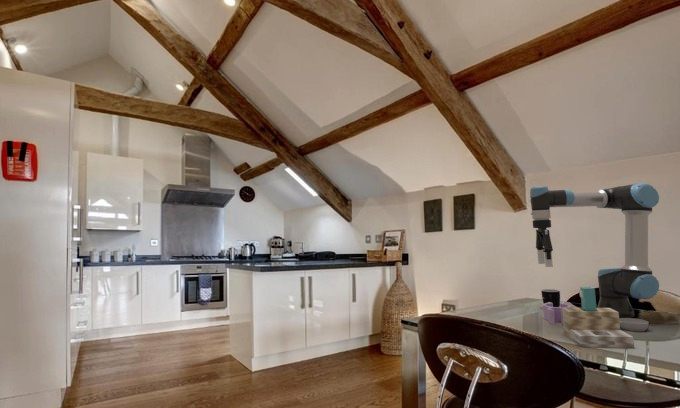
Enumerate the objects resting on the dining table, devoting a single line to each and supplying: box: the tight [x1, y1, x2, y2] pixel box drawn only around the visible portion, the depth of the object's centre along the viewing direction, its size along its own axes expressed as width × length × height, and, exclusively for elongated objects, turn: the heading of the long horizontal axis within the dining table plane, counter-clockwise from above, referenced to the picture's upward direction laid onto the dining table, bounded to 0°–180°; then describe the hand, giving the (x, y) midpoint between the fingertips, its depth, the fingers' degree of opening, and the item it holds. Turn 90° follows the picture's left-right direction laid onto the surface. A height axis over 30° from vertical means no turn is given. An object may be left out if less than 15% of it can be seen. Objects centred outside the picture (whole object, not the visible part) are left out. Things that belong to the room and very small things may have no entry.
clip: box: [541, 302, 573, 327], centre depth 183 cm, size 20×12×7 cm, turn 152°
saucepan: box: [619, 317, 650, 332], centre depth 164 cm, size 11×18×4 cm, turn 92°
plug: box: [578, 286, 597, 311], centre depth 156 cm, size 5×4×12 cm
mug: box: [541, 288, 561, 307], centre depth 206 cm, size 12×9×10 cm
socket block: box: [562, 307, 635, 349], centre depth 151 cm, size 18×18×11 cm
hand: (545, 265), depth 173 cm, fingers open, 13 cm apart
